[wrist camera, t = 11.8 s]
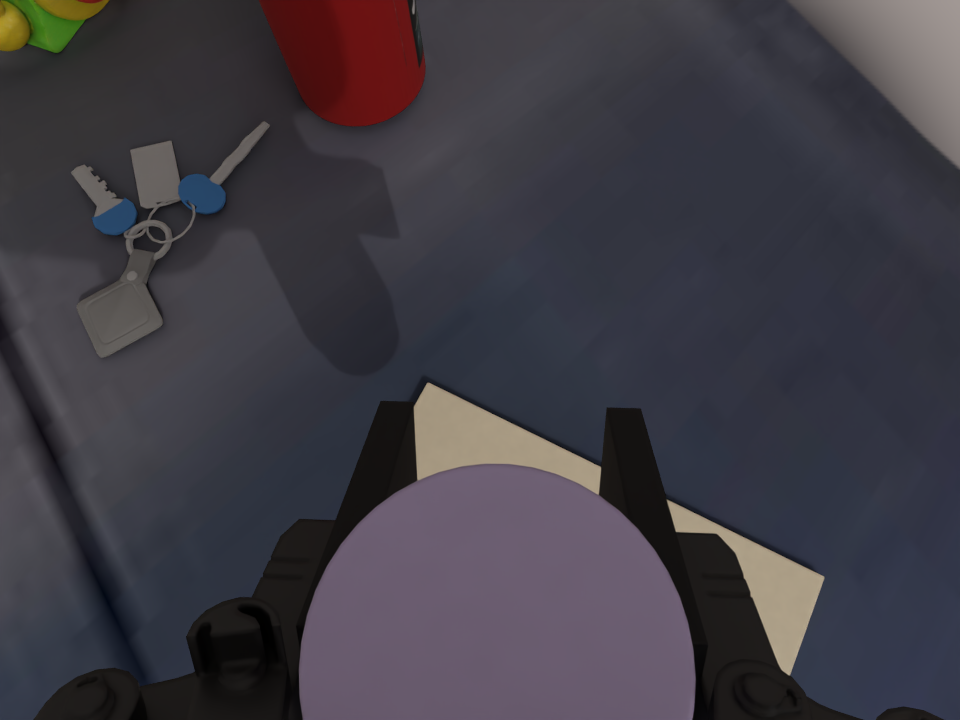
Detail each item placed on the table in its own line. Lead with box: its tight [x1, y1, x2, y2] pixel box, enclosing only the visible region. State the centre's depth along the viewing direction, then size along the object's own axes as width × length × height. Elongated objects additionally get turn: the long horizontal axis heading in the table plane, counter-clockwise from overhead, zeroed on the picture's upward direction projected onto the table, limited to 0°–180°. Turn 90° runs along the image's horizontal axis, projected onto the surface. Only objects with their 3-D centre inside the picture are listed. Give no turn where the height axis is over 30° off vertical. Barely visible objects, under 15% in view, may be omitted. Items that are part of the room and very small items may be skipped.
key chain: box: [71, 121, 270, 358], centre depth 34 cm, size 14×8×1 cm, turn 159°
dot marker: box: [299, 464, 696, 720], centre depth 13 cm, size 4×4×11 cm
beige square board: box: [414, 383, 824, 676], centre depth 27 cm, size 18×18×1 cm
